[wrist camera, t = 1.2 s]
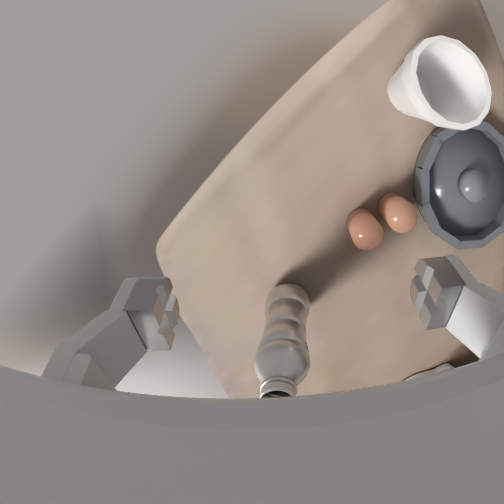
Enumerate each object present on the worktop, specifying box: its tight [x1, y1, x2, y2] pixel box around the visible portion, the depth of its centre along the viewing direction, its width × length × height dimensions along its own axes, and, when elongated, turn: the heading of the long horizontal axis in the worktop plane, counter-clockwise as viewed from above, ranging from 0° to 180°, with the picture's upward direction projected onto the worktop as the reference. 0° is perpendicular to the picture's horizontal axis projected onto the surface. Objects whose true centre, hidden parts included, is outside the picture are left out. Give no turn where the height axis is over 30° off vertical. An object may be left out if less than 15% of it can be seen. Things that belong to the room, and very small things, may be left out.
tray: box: [414, 121, 504, 249], centre depth 32 cm, size 18×18×3 cm
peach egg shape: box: [346, 208, 383, 250], centre depth 37 cm, size 4×4×5 cm
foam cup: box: [387, 35, 492, 130], centre depth 25 cm, size 10×9×13 cm
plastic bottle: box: [254, 283, 310, 398], centre depth 36 cm, size 6×7×20 cm
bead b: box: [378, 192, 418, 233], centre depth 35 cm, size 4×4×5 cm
